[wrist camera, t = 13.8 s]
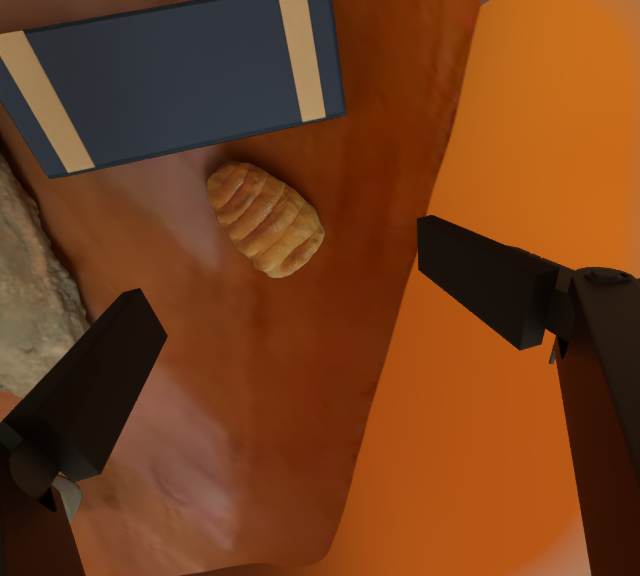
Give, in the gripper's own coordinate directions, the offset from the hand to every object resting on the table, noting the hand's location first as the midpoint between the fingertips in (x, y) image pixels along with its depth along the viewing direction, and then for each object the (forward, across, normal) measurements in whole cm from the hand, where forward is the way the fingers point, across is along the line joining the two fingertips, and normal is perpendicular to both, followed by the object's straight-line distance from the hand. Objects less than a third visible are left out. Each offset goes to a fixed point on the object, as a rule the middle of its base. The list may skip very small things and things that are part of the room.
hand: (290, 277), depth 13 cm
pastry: (+12, -1, 0) cm, 12 cm away
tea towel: (+12, -4, +10) cm, 16 cm away
